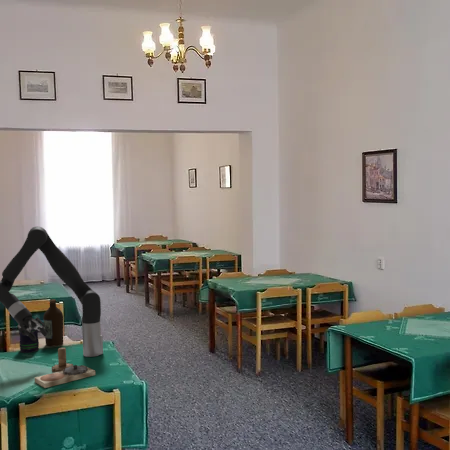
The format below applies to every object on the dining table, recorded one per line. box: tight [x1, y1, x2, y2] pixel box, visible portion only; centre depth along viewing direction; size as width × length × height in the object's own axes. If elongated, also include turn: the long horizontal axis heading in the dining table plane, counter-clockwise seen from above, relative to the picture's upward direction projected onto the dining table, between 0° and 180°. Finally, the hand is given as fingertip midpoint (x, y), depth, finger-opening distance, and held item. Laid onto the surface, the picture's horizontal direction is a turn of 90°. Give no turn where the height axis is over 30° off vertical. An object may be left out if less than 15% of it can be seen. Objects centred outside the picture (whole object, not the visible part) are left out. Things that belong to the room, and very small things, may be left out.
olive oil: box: [42, 298, 64, 347], centre depth 308 cm, size 11×11×25 cm
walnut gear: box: [51, 347, 74, 373], centre depth 262 cm, size 10×10×10 cm
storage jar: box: [18, 325, 40, 354], centre depth 297 cm, size 10×10×15 cm
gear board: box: [34, 364, 96, 389], centre depth 249 cm, size 24×11×5 cm, turn 132°
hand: (40, 337), depth 265 cm, fingers open, 8 cm apart
